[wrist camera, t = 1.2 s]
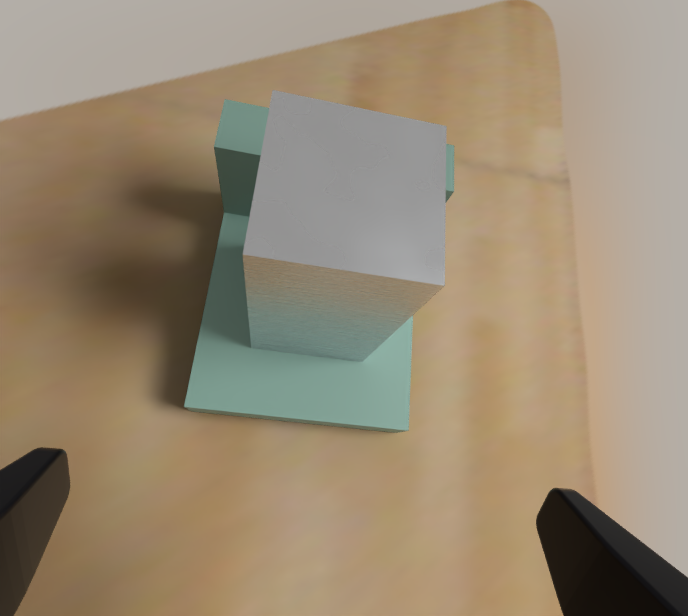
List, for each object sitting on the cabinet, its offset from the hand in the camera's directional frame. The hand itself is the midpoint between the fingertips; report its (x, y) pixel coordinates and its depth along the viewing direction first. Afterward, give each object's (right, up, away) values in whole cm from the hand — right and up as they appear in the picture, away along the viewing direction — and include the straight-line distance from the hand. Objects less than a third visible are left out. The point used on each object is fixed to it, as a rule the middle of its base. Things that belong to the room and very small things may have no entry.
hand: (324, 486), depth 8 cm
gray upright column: (-1, +4, +13) cm, 14 cm away
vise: (-1, +3, +15) cm, 15 cm away
